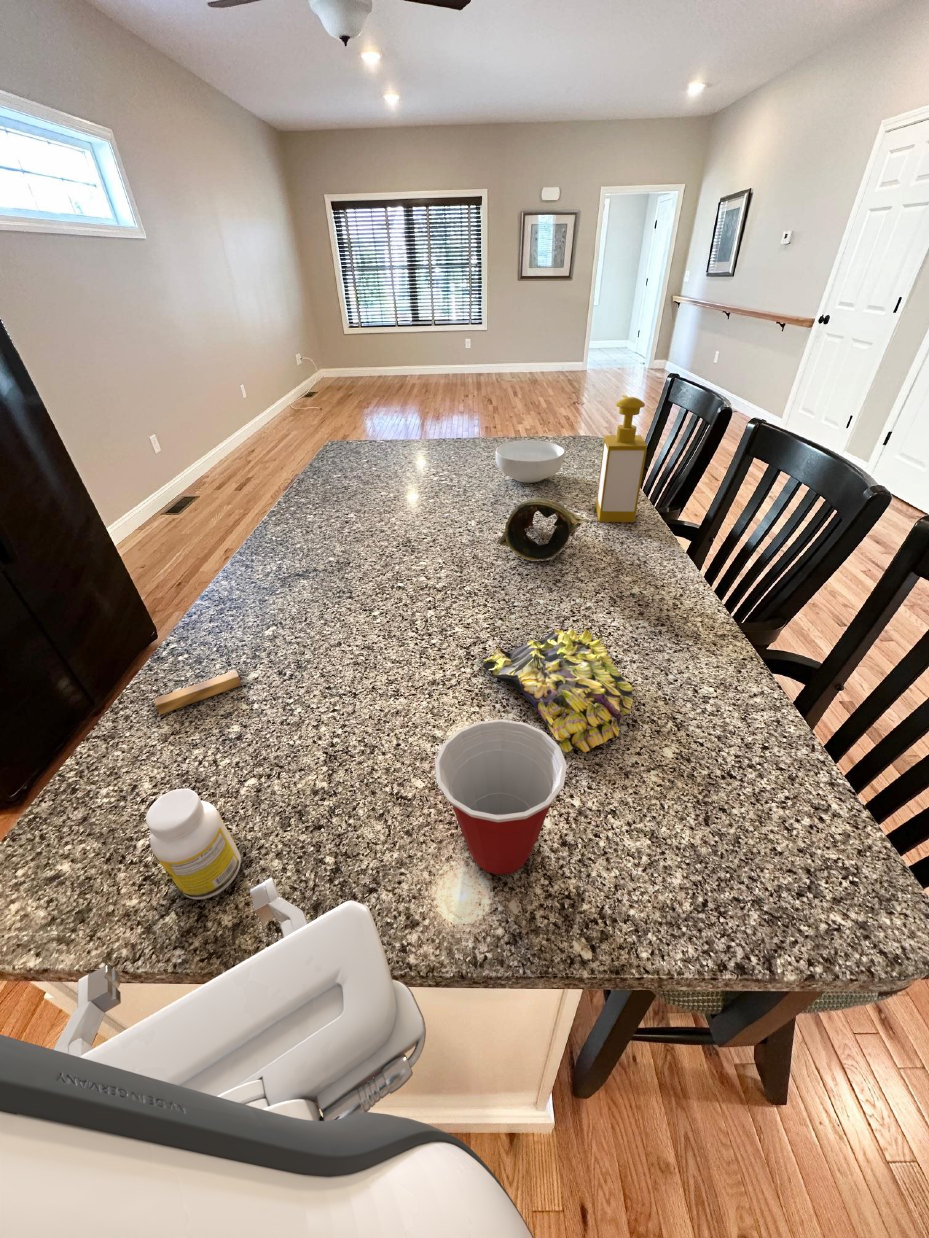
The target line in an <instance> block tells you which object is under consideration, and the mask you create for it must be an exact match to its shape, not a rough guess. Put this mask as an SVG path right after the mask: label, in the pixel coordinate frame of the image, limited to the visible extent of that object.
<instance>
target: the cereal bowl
mask: <svg viewBox="0 0 929 1238" xmlns="http://www.w3.org/2000/svg"><path fill="white" fill-rule="evenodd" d="M565 452H566V451H565V448H563V447H562V446H561V445H559V444H556V443H553V442H548V441H543V440H533V439H532V440H531V439H527V440H526V439H525V440H513V441H508V442H505V443H503V444H500V445H499V446H497V447H496V448H495V463H496V466H497V469H499V471H500V472H501V473H503V474H504V475H505V476H507V477H509V478H512V479H513V480H514V481H516V482H519V483H527V484H528V483H529V484H530V483H539V482H542V481H543V480H545V479H548V478H550V477H553V476H554V475H556V474H557V473H558V472H559V471H560V469H561V468H562V465H563V463H564V459H565Z"/></svg>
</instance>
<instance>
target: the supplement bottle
mask: <svg viewBox="0 0 929 1238" xmlns="http://www.w3.org/2000/svg"><path fill="white" fill-rule="evenodd" d="M145 823H146V826H147V828H148V829H149V830H150V832H151V833H150V837H149V845H150V849H151V851H152V853H153V855H154V857H155V858H156V859H157V860H158V862H159V863H160V865H161V866H162V867H163V869H164V870H165V871H166V874H167V875H168V876H169V877H170V879H171V880H172V881H173V883H174V884H175V886H176V887H177V888H178V890H179V891H180V892H181V893H182V894H183V895H184V896H185V897H187V898H188V899H190V900H191V899H192V900H206V899H209V898H212V897H215V896H217V895H218V894H220V893H222V892H223V891H224V890H225V889H227V888H228V887H229V886H230V885H231V884H232V882H233V881H234V880H235V878H236V877H237V875H238V873H239V870H240V868H241V864H242V863H241V862H242V857H241V852H240V850H239V847H238V846H237V844H236V843H235V841H234V839H233V837H232V835H231V833H230V832H229V830H228V828H227V826H226V825H225V822H224V820H223V818H222V817H221V814H220V813H219V811H218V810H217V809H216V807H215V806H214V805H213V804H212V803H210V802H208V801H205V800H201V798H200V796H199V795H198V793H197V792H195V790H192V789H190V788H177V789H173V790H171V791H168V792H166V793H165V794H163V795H161V796H159V798H157V799H156V800H155V801H154V802H153V803H152V804H151V806H149V808H148V811H147V812H146V816H145Z"/></svg>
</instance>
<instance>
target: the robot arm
mask: <svg viewBox="0 0 929 1238" xmlns="http://www.w3.org/2000/svg"><path fill="white" fill-rule="evenodd" d="M248 890H249V895H250V897H251V899H252V901H251V902H252V906H253V910H254V912H255V914H256V916H258V920H259V921H260V923H261V924H262V925H263V924H265V923H267V922H269V921H271V920H272V919H274V918H275V919H276V920H278V921H279V922H280V929H281V932H282V936H283V937H282V938H280V940H278V941H276V942H274V943H273V944H271V945H269V946H267V947H266V948H263V949H262V950H260V951H259V952H257V953H255V954H253V955H252V956H250V957H249V958H247V959H245V960H243V961H241V962H240V963H238V964H236V965H235V966H233V967H231V968H229V969H228V970H226V971H223V972H222V973H221V974H219V975H217V976H216V977H214V978H212V979H210V980H209V981H207V982H205V983H204V984H202V985H200V986H199V987H197V988H195V989H193V990H192V991H190V992H188V993H187V994H185V995H183V996H181V997H179V998H178V999H176V1000H174V1001H172V1002H170V1003H169V1004H167V1005H166V1006H164V1007H163V1008H161V1009H159V1010H157V1011H156V1012H153V1013H152V1014H150V1015H148V1016H147V1017H145V1018H143V1019H142V1020H140V1021H138V1022H136V1023H135V1024H133V1025H132V1026H130V1027H128V1028H127V1029H125V1030H123V1031H121V1032H120V1033H118V1034H116V1035H114V1036H112V1037H111V1038H109V1039H108V1040H106V1041H104V1042H102V1043H100V1044H98V1045H97V1046H95V1047H93V1044H94V1041H95V1039H96V1036H97V1034H98V1032H99V1029H100V1027H101V1025H102V1022H103V1020H104V1018H105V1015H106V1013H107V1012H109V1011H110V1010H112V1009H113V1008H116V1007H117V1006H119V1005H121V1003H122V997H121V996H122V995H121V991H120V990H119V988H120V985H121V979H120V978H121V977H120V974H119V972H118V971H117V970H116V969H114V968H113V967H112V965H111V964H110V963H107V964H106V965H104V966H102V967H100V968H97V969H95V970H94V971H92V972H90V973H88V974H86V975H84V976H83V977H81V978H79V979H78V981H77V999H76V1000H77V1002H76V1003H77V1004H76V1008H75V1009H74V1010H73V1012H72V1014H71V1015H70V1017H69V1019H68V1021H67V1023H66V1025H65V1026H64V1028H63V1030H62V1032H61V1034H60V1035H59V1037H58V1039H57V1041H56V1042H55V1044H54V1046H53V1048H49V1047H45V1046H42V1045H38V1044H35V1043H31V1042H28V1041H24V1040H22V1039H17V1038H14V1037H10V1036H7V1035H3V1034H0V1238H535V1237H534V1235H533V1234H532V1231H531V1230H530V1227H529V1225H528V1224H527V1222H526V1221H525V1219H524V1218H523V1215H522V1213H521V1212H520V1211H519V1208H518V1207H517V1206H516V1203H515V1202H514V1200H513V1199H512V1198H511V1196H510V1195H509V1193H508V1191H507V1190H506V1188H505V1187H504V1186H503V1184H502V1183H501V1181H500V1180H499V1179H498V1178H497V1176H496V1175H495V1174H494V1173H493V1171H492V1170H491V1168H490V1167H489V1166H488V1165H487V1164H486V1163H485V1162H484V1160H483V1159H481V1157H480V1156H479V1155H478V1154H477V1153H476V1152H475V1151H474V1150H473V1149H472V1148H470V1147H469V1146H468V1145H467V1144H466V1143H464V1142H463V1141H462V1140H461V1139H459V1137H456V1136H454V1135H452V1134H450V1133H448V1132H446V1131H444V1130H442V1129H439V1128H438V1127H435V1126H433V1125H432V1124H431V1125H430V1124H428V1123H426V1122H423V1121H418V1120H416V1119H412V1118H409V1117H402V1116H397V1115H392V1114H387V1113H379V1112H371V1111H370V1110H371V1108H373V1107H375V1105H376V1104H377V1103H379V1102H380V1101H381V1100H382V1099H384V1098H385V1097H386V1096H388V1095H389V1094H390V1095H392V1094H394V1093H395V1092H397V1091H398V1090H399V1089H400V1088H402V1087H403V1086H404V1085H405V1084H406V1083H408V1082H409V1080H410V1079H411V1078H412V1076H413V1074H414V1072H413V1069H412V1068H413V1067H414V1066H415V1064H417V1062H418V1061H419V1059H420V1057H421V1055H422V1053H423V1051H424V1047H425V1044H426V1043H425V1042H426V1038H427V1037H426V1036H427V1028H426V1021H425V1018H424V1015H423V1013H422V1011H421V1008H420V1007H419V1004H418V1002H417V999H416V997H415V995H414V993H413V991H412V990H411V989H410V987H409V986H408V985H406V984H405V983H404V982H402V981H401V980H397V979H393V978H392V973H391V971H390V970H391V969H390V966H389V962H388V959H387V956H386V952H385V949H384V946H383V943H382V940H381V937H380V934H379V931H378V929H377V928H378V927H377V925H376V923H375V920H374V917H373V914H372V912H371V910H370V908H369V907H368V906H367V905H366V904H363V903H362V902H361V903H360V902H358V901H356V900H352V899H350V900H347V901H345V902H342V903H341V904H339V905H338V906H336V907H334V908H332V909H331V910H329V911H327V912H325V913H323V914H322V915H320V916H319V917H317V918H315V919H314V920H312V921H310V922H308V920H307V917H306V916H305V913H304V911H303V910H302V909H301V908H299V907H298V906H296V905H294V904H292V903H291V902H289V901H287V900H286V899H284V898H282V897H281V895H280V892H279V890H278V887H277V885H276V882H275V880H274V878H273V877H269V878H268V879H266V880H264V881H261V882H260V883H258V884H256V885H254V886H253V887H251V888H249V889H248ZM411 1050H413V1051H412V1052H411V1054H410V1055H409V1056H408V1057H407V1055H406V1054H407V1053H409V1052H410V1051H411Z"/></svg>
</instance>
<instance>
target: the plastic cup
mask: <svg viewBox="0 0 929 1238" xmlns="http://www.w3.org/2000/svg"><path fill="white" fill-rule="evenodd" d="M567 767H568V764H567V762H566V759H565V757H564V754H563V750H562V749H561V747H560V745H559V743H558V744H557V742H556V741H555V740H553V738H552V737H550V735H548V734H547V732H546V731H544V730H541V729H539V728H537V727H535V726H533V725H531V724H529V723H526V722H523V721H515V720H510V719H503V718H501V719H491V720H484V721H483V720H482V721H477V722H475V723H472V724H470V725H468V726H466V727H463V728H461V729H458V730H457V731H456V732H454V734H452V735H451V737H449V738H448V739H447V740H446V741H444V743H443V744H442V745H441V748H440V750H439V751H438V754H437V757H436V759H435V761H434V769H435V781H436V784H437V786H438V787H439V789H440V790H441V792H442V794H443V795H444V796H445V798H446V799H447V801H448V802H449V804H450V805H451V807H452V809H453V812H454V814H455V817H456V820H457V823H458V826H459V828H460V832H461V834H462V837H463V839H464V840H465V842H466V846H467V849H468V852H469V854H470V856H471V857H472V859H473V860H474V862H475V863H476V864H477V866H478V867H480V868H481V869H483V870H484V871H485V872H487V873H490V874H494V875H498V876H501V875H510V874H513V873H515V872H516V871H518V870H519V869H521V868H523V866H524V865H525V863H526V862H528V859H529V858H530V856H531V855H532V852H533V849H534V846H535V844H536V843H537V842H538V839H539V836H540V835H541V831H542V829H543V826H544V823H545V820H546V818H547V815H548V812H549V810H550V809H551V807H552V804H553V802H554V800H555V799H556V798H557V796H558V795H559V794H560V792H561V791H562V790H563V788H564V785H565V781H566V775H567V769H568V768H567Z"/></svg>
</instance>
